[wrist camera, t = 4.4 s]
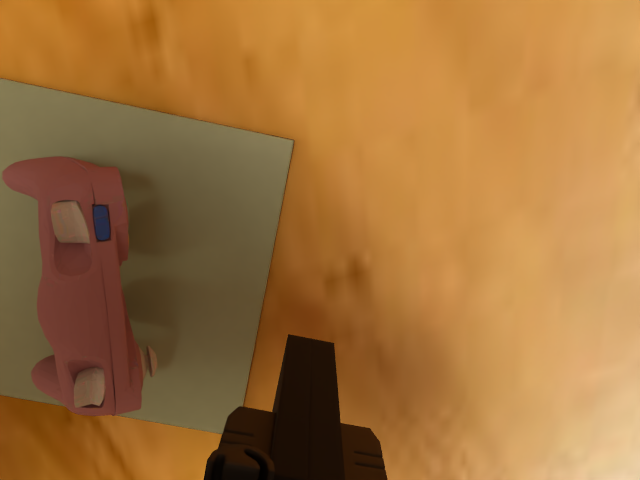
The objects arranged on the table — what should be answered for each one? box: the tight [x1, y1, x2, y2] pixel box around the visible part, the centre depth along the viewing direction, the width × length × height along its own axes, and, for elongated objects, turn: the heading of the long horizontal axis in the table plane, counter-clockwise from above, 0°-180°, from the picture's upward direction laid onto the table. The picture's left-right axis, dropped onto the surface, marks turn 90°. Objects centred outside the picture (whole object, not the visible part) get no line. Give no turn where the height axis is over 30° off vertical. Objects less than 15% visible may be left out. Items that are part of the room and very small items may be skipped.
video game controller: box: [2, 156, 157, 416], centre depth 19 cm, size 10×5×7 cm, turn 0°
